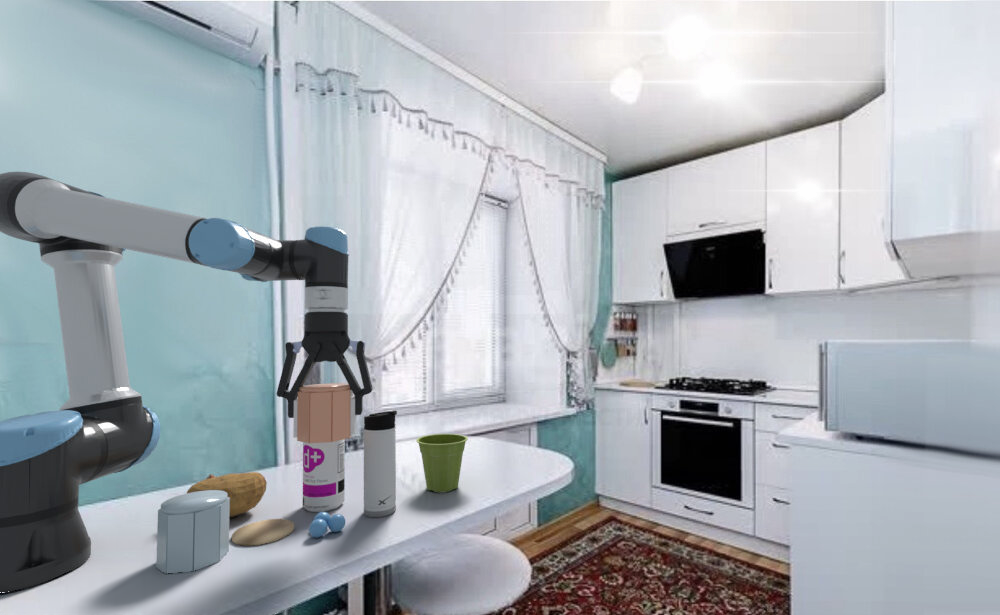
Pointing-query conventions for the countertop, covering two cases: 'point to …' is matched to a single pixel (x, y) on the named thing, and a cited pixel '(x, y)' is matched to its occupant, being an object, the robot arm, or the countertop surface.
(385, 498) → the travel mug
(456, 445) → the plant pot
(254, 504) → the potato
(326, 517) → the marble
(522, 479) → the countertop surface
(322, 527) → the marble
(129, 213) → the robot arm
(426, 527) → the countertop surface
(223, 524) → the grey domed faceted canister
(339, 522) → the marble
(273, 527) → the coaster
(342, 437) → the peach domed octagonal part
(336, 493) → the supplement can
